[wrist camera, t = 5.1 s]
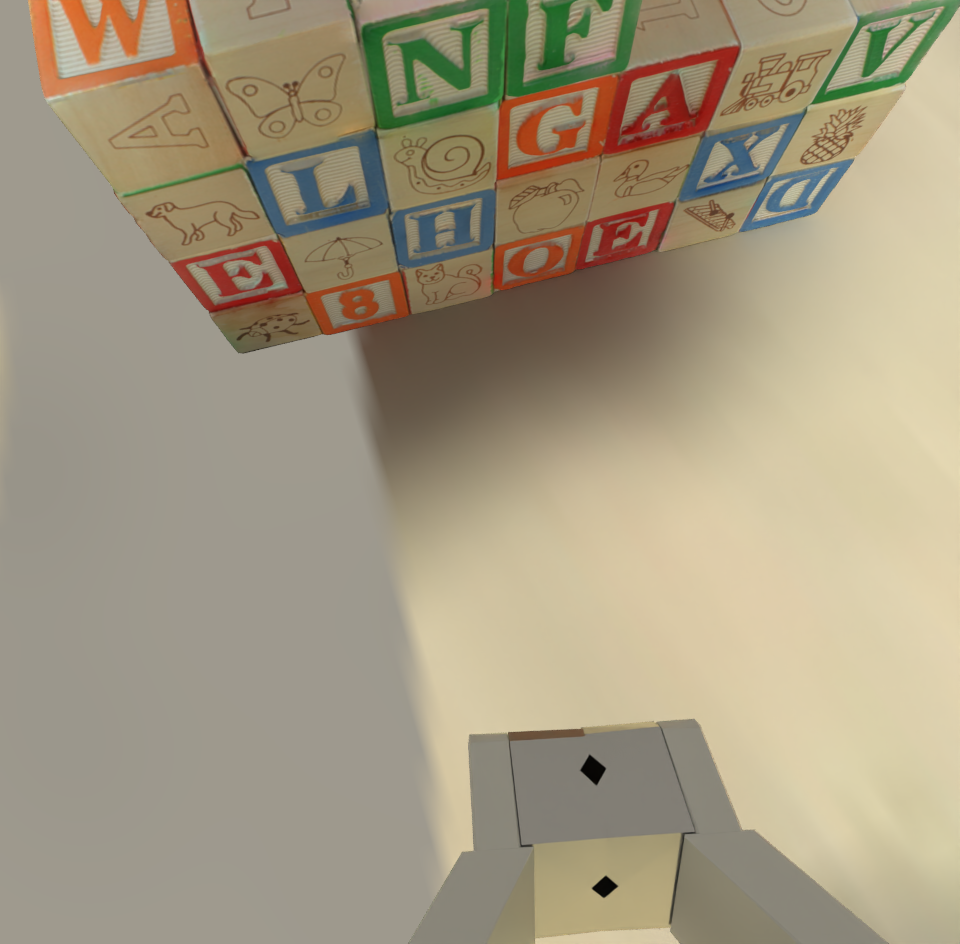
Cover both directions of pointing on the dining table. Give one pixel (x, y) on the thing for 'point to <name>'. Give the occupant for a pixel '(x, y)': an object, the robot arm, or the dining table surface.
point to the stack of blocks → (459, 135)
